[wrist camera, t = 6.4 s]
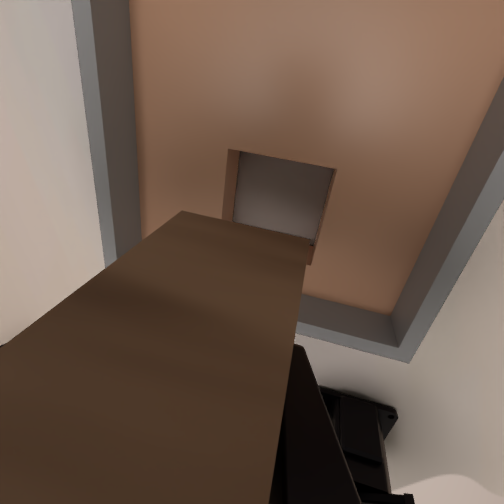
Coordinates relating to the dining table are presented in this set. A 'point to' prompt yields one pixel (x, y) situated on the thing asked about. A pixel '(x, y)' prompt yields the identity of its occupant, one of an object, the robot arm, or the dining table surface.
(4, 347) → the walnut peg
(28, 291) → the dining table surface
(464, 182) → the box
